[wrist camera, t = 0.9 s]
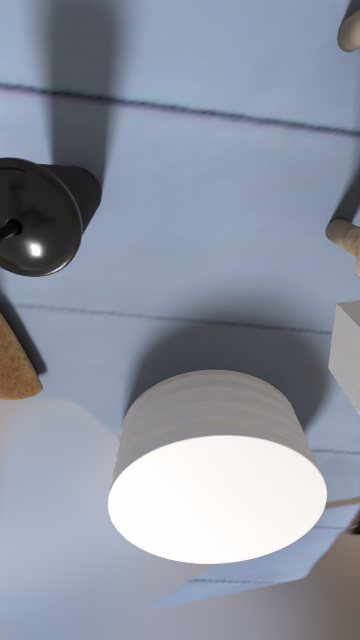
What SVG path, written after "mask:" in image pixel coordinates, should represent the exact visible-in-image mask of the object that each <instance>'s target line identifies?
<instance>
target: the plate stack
mask: <svg viewBox="0 0 360 640" xmlns="http://www.w3.org/2000/svg"><path fill="white" fill-rule="evenodd" d="M326 500H327V488H326V484H325V481H324V478H323V476H322V473H321V471H320V469H319V467H318V465H317V462H316V460H315V457H314V455H313V453H312V451H311V449H310V446H309V444H308V441H307V439H306V437H305V435H304V433H303V430H302V428H301V425H300V423H299V421H298V419H297V416H296V414H295V411H294V409H293V407H292V405H291V404H290V402H289V401H288V399H287V398H286V397H285V396H284V395H283V394H282V393H281V392H280V391H279V390H278V389H276V388H275V387H274V386H272V385H271V384H269V383H267V382H265V381H264V380H261V379H259V378H257V377H254V376H251V375H248V374H245V373H241V372H236V371H229V370H200V371H193V372H187V373H183V374H180V375H176V376H173V377H171V378H168V379H166V380H163V381H161V382H159V383H157V384H156V385H154V386H152V387H151V388H149V389H148V390H146V391H145V392H144V393H143V394H141V395H140V396H139V397H138V398H137V399H136V400H135V401H134V403H133V404H132V405H131V407H130V408H129V410H128V411H127V413H126V415H125V417H124V420H123V423H122V428H121V434H120V439H119V445H118V450H117V454H116V460H115V466H114V470H113V476H112V483H111V487H110V492H109V498H108V510H109V514H110V518H111V520H112V522H113V524H114V526H115V527H116V528H117V530H118V531H119V532H120V533H121V534H122V535H123V536H124V537H125V538H126V539H127V540H129V541H130V542H131V543H133V544H134V545H136V546H137V547H139V548H141V549H143V550H145V551H147V552H149V553H152V554H154V555H157V556H160V557H164V558H168V559H172V560H177V561H182V562H190V563H205V564H215V563H229V562H237V561H243V560H248V559H252V558H256V557H260V556H263V555H266V554H269V553H272V552H274V551H277V550H279V549H281V548H283V547H285V546H287V545H289V544H291V543H293V542H294V541H296V540H297V539H299V538H300V537H302V536H303V535H304V534H305V533H307V532H308V531H309V530H310V529H311V528H312V527H313V526H314V525H315V523H316V522H317V521H318V519H319V518H320V516H321V515H322V513H323V510H324V508H325V505H326Z"/></svg>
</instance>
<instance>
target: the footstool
mask: <svg viewBox="0 0 360 640" xmlns="http://www.w3.org/2000/svg"><path fill="white" fill-rule="evenodd" d="M337 40H338V45H339V47H340V48H341V49H342V50H343V51H345V52H352V51H355V50H357V49H359V48H360V9H359V10H358V11H356V12H355V13H354V14H352V15H351V16H349V17H348V18H347V19H346V20H345V21H344V22H343V23H342V24H341V26H340V28H339V31H338V37H337ZM326 236H327V238H328V239H329V240H331V241H332V242H334V243H335V244H337V245H338V246H340V247H341V248H343V249H344V250H346V251H347V252H349V253H351V254H352V255H354V256H355V257H357V259H356V268H355V274H356V275H357V276H359V277H360V227H358V226H356V225H354V224H352V223H349V222H347V221H345V220H343V219H336V220H333V221H332V222H331V223H329V225H328V226H327V228H326Z"/></svg>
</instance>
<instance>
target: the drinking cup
mask: <svg viewBox="0 0 360 640" xmlns="http://www.w3.org/2000/svg"><path fill="white" fill-rule="evenodd" d="M100 202H101V189H100V186H99V183H98V181H97V180H96V178H95V177H94V176H93V175H92V174H91V173H90V172H89V171H87V170H85V169H83V168H80V167H74V166H61V165H47V164H37V163H34V162H32V161H29V160H25V159H21V158H13V157H5V158H0V267H1V268H3V269H5V270H7V271H9V272H12V273H15V274H18V275H22V276H30V277H40V276H47V275H51V274H54V273H56V272H58V271H60V270H61V269H63V268H64V267H66V266H67V265H68V264H69V263H70V262H71V261H72V259H73V258H74V257H75V255H76V253H77V252H78V250H79V247H80V244H81V240H82V235H83V233H84V231H85V230H86V228H87V226H88V224H89V223H90V221H91V219H92V217H93V216H94V214H95V212H96V210H97V208H98V207H99V205H100Z"/></svg>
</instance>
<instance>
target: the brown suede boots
mask: <svg viewBox="0 0 360 640" xmlns="http://www.w3.org/2000/svg"><path fill="white" fill-rule="evenodd" d="M41 390H43V386H42V384H41V382H40V380H39V378H38V376H37V374H36V372H35V370H34V368H33V366H32V364H31V362H30V360H29V359H28V357H27V355H26V353H25V351H24V350H23V348H22V346H21V344H20V343H19V341H18V339H17V337H16V336H15V334H14V332H13V331H12V329H11V328H10V326H9V325H8V323H7V322H6V320H5V318H4V317H3V315H2V314H1V312H0V399H3V400H17V399H24V398H28V397H31V396H35V395H37V394H38V393H39V392H40V391H41Z"/></svg>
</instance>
